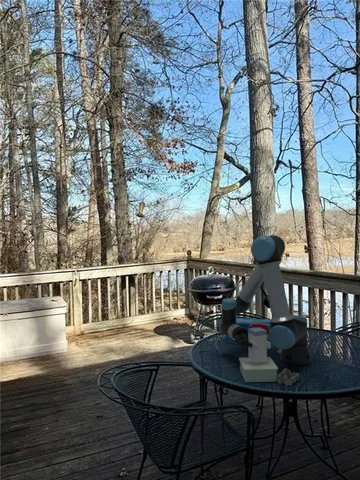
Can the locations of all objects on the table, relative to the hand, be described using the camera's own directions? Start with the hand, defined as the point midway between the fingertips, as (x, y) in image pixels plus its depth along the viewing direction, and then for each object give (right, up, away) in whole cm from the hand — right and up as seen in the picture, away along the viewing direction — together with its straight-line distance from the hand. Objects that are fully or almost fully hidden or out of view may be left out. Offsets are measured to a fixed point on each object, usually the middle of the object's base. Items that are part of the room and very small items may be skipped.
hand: (263, 346), depth 178 cm
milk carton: (-2, -7, +5) cm, 9 cm away
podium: (-1, -15, +5) cm, 16 cm away
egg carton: (+11, -15, -1) cm, 19 cm away
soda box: (+10, -13, +55) cm, 58 cm away
